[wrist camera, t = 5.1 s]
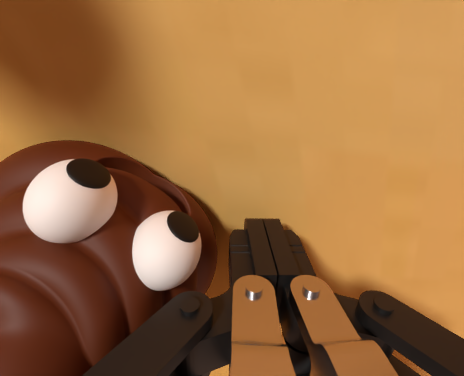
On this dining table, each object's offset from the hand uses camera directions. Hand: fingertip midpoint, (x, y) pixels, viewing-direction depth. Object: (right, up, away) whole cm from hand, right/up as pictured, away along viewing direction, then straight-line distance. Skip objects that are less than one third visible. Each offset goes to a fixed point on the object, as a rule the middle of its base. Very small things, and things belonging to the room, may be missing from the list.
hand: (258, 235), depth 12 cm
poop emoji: (-7, +1, +1) cm, 7 cm away
